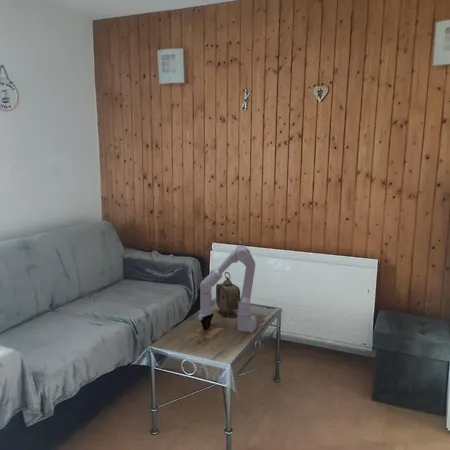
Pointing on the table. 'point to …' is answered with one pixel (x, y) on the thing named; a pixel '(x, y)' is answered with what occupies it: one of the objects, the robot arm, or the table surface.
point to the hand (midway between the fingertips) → (206, 328)
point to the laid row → (205, 335)
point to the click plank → (212, 330)
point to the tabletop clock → (227, 296)
